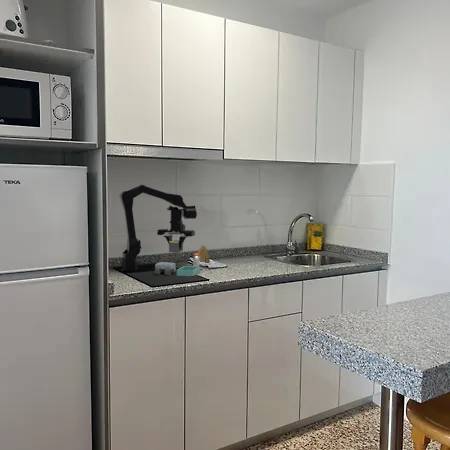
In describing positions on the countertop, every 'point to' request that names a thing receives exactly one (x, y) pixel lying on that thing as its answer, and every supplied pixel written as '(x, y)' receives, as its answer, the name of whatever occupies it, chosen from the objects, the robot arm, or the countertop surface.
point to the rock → (203, 254)
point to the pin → (196, 260)
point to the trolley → (165, 268)
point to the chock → (174, 246)
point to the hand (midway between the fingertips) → (175, 249)
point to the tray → (188, 271)
